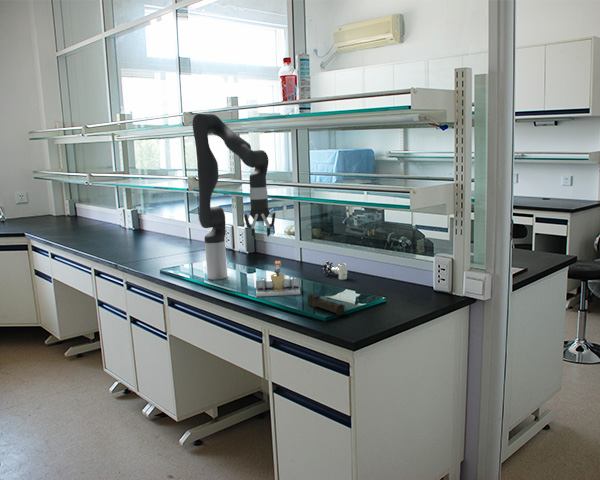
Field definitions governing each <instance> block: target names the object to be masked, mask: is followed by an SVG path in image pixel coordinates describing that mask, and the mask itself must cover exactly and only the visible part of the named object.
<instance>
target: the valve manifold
mask: <svg viewBox="0 0 600 480" xmlns="http://www.w3.org/2000/svg"><path fill="white" fill-rule="evenodd" d="M255 286H256V291H255V294H256V295H255V296H256V298H257V297H272V296H274V297H275V296H277V297H278V296H293V295H301V281H300V278H299V277H298V278H294V277H290V278H286V277H285V273H281V272H280V273H273V274H271V275H270V279H265V278H262V280H256V281H255Z"/></svg>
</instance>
